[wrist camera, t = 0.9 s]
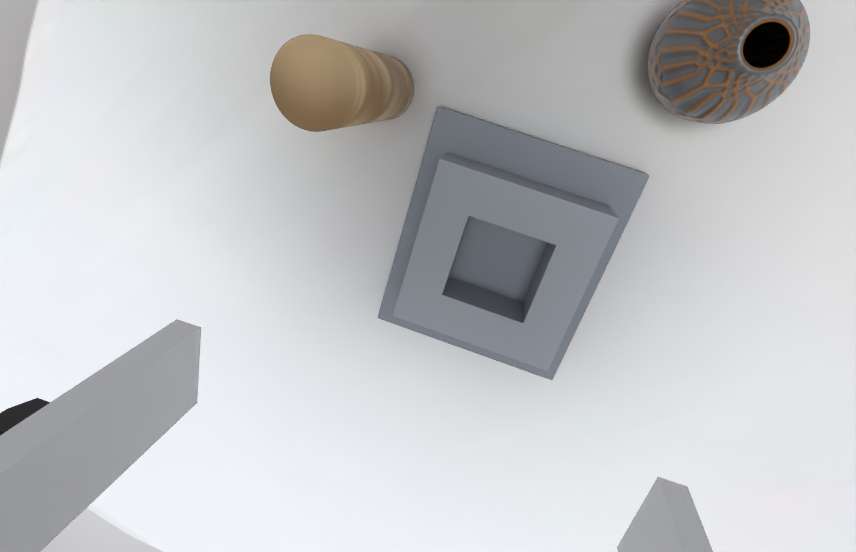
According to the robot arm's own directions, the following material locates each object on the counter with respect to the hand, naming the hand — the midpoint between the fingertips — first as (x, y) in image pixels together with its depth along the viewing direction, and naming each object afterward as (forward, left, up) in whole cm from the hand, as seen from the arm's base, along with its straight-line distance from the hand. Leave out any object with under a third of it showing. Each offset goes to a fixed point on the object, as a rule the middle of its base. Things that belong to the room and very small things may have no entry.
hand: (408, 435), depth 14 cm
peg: (-7, -9, -23) cm, 26 cm away
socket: (+1, +2, -23) cm, 23 cm away
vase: (-14, +9, -23) cm, 28 cm away
